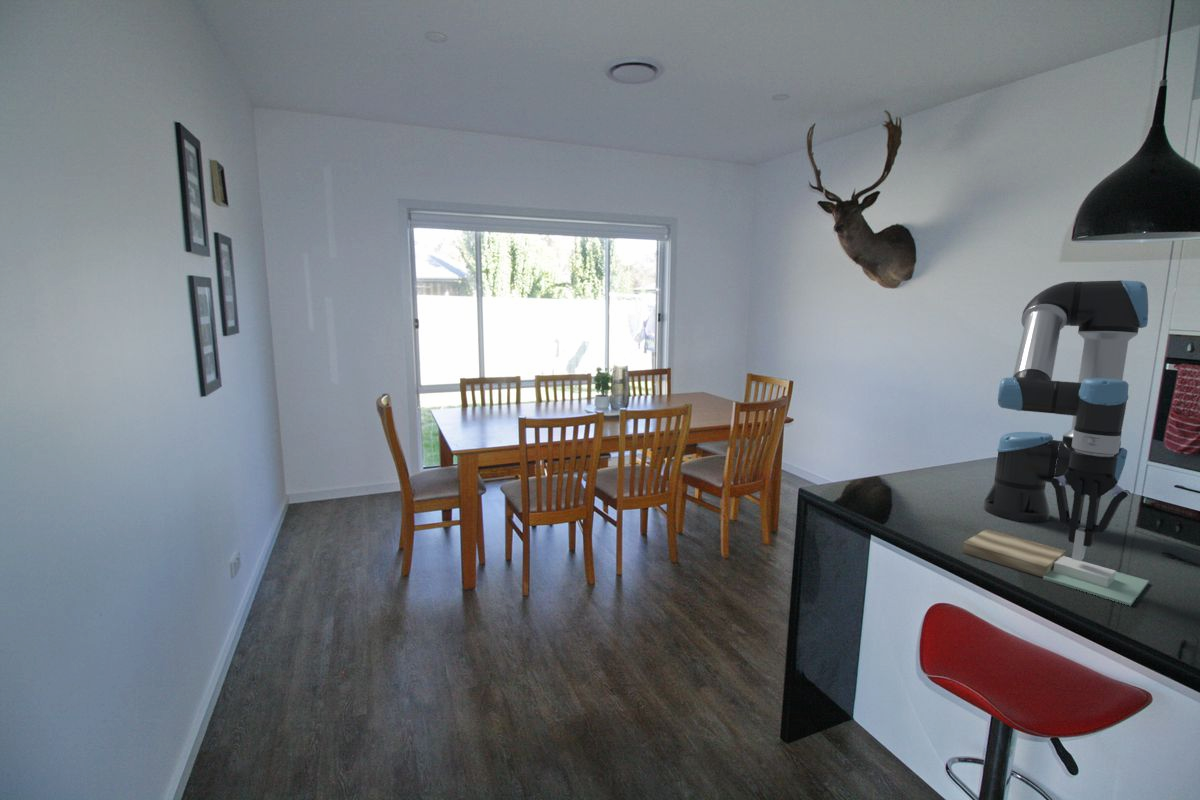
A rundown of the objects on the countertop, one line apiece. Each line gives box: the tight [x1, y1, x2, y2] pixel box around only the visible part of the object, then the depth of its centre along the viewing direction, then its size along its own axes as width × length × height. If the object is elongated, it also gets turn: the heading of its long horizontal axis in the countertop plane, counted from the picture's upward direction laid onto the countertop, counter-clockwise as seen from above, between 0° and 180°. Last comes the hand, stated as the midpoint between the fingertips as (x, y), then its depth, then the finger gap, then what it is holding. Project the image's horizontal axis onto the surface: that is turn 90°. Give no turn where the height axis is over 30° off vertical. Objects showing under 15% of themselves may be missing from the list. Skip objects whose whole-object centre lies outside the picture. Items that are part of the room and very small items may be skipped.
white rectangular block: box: [1053, 555, 1117, 587], centre depth 122 cm, size 9×6×2 cm, turn 37°
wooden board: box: [961, 528, 1067, 578], centre depth 132 cm, size 14×16×2 cm
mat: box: [1042, 568, 1149, 607], centre depth 121 cm, size 16×14×1 cm
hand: (1077, 558), depth 123 cm, fingers closed
